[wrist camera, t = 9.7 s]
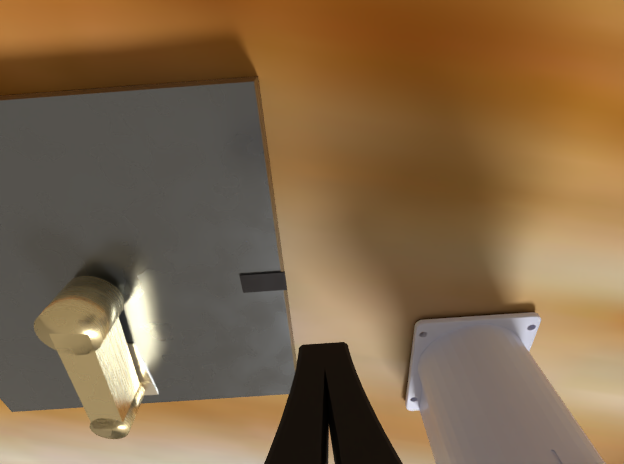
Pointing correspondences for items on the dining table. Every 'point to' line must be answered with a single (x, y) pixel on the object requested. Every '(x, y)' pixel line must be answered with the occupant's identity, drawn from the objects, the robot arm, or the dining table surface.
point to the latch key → (94, 352)
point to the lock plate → (145, 237)
